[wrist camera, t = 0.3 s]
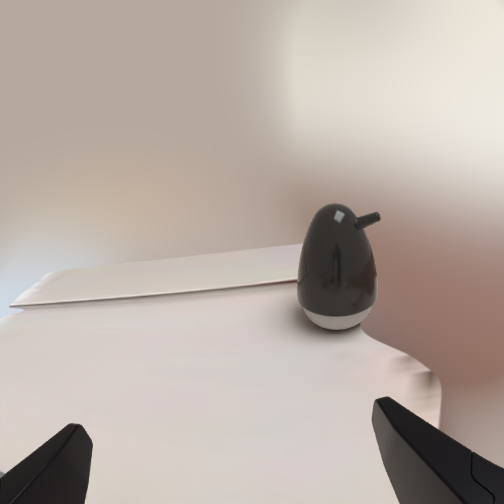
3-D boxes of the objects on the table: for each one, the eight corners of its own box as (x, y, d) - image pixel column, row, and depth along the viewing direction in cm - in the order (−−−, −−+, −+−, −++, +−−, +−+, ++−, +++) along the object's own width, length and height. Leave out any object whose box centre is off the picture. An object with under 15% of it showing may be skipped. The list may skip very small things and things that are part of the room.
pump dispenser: (368, 347, 35) (372, 218, 29) (286, 333, 40) (274, 215, 34) (383, 303, 43) (385, 195, 37) (314, 294, 48) (307, 193, 42)
